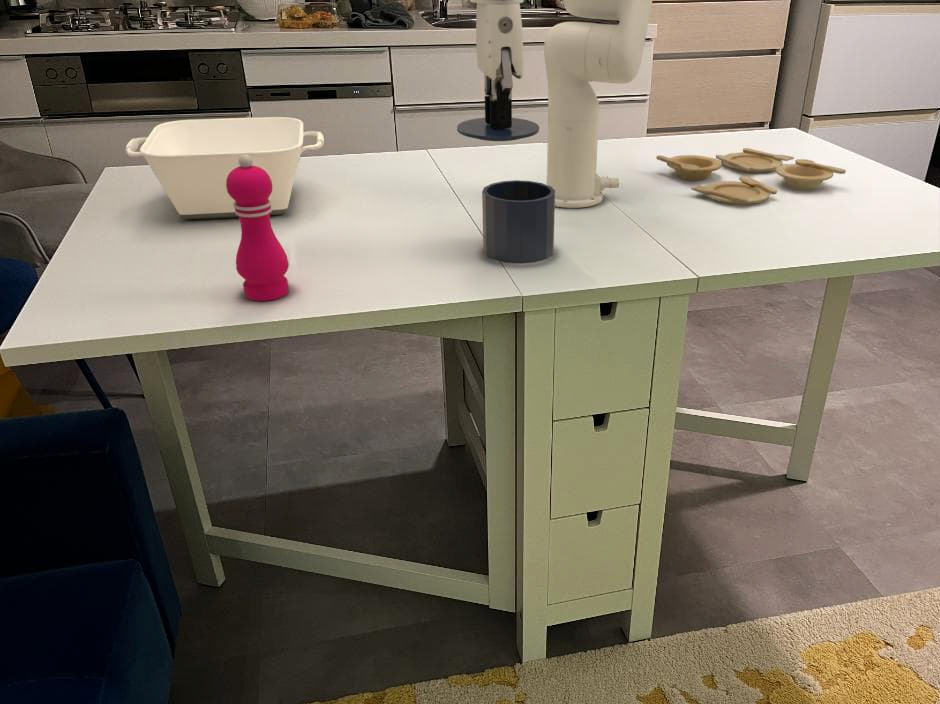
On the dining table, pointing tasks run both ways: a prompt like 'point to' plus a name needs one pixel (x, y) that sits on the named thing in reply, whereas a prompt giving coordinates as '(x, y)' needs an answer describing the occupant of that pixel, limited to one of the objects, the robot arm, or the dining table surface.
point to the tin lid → (485, 132)
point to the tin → (518, 221)
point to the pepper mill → (257, 234)
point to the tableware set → (749, 189)
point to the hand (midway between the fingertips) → (498, 124)
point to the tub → (222, 160)
